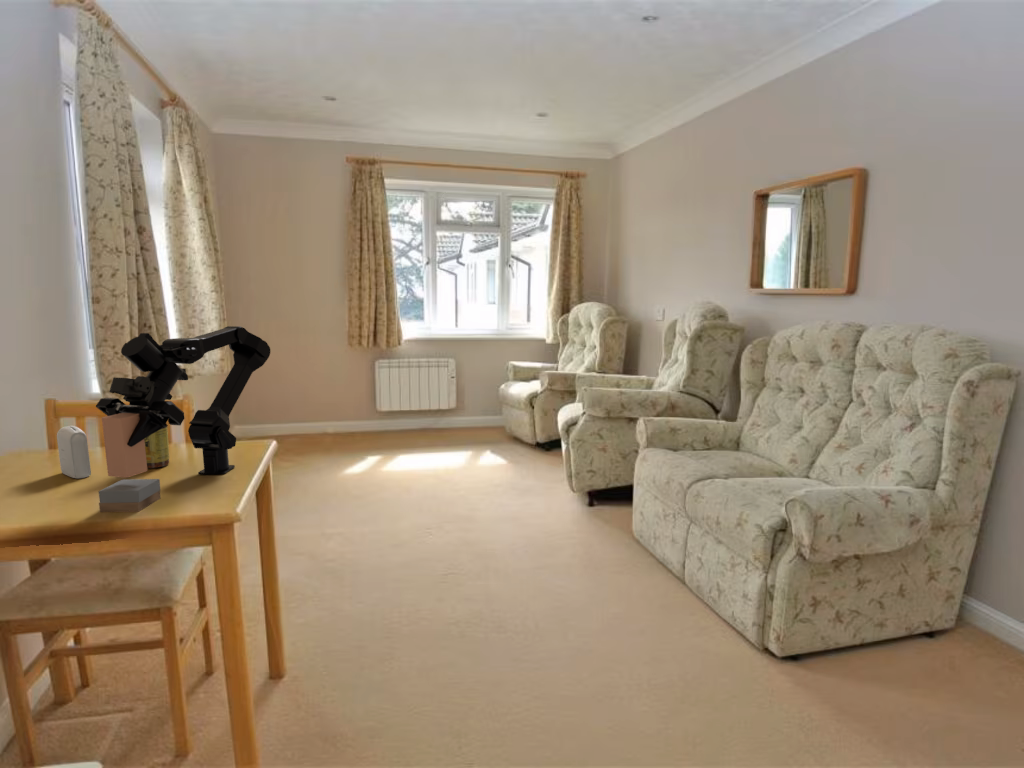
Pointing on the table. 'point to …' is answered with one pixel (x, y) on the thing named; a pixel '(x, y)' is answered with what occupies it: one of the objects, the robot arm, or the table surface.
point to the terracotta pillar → (123, 446)
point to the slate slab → (129, 490)
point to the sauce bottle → (157, 449)
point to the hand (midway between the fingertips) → (119, 444)
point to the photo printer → (73, 452)
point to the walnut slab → (129, 505)
